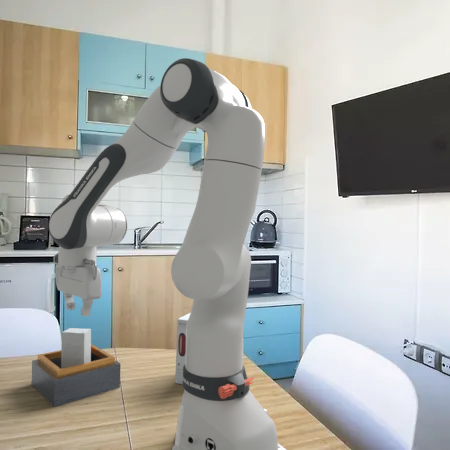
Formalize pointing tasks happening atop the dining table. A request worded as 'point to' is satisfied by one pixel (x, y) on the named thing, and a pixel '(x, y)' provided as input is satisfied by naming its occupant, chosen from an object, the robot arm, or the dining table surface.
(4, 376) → the dining table surface
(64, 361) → the skincare box
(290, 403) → the dining table surface
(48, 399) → the grey open box
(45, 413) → the dining table surface
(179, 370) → the supplement box
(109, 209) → the robot arm
